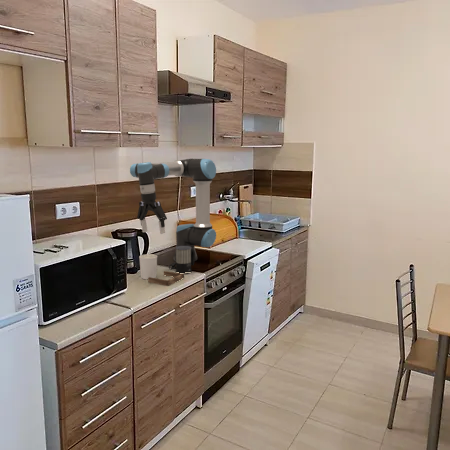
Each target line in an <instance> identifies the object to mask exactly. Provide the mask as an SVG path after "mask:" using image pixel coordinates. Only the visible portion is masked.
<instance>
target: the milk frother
mask: <svg viewBox="0 0 450 450" xmlns="http://www.w3.org/2000/svg"><path fill="white" fill-rule="evenodd" d="M175 251H176V261H174V262H173V263H170V264H169V266H168V268H169V269H170V268H171V269H170V270H172V269H176V270H175V273H176V272H179V273H185V272H191V273H192V267H193V266H194V265H195V261H194V260H195V251H196V250H195V251H194V249H193V248H191V247H190V246H178V247H176V246H175Z"/></svg>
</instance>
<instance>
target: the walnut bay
mask: <svg viewBox="0 0 450 450" xmlns="http://www.w3.org/2000/svg"><path fill="white" fill-rule="evenodd" d="M164 275H166V276H165V277H167V276H173V277H174V278H173V277H171V278H170V279H162V278H157V277H156V278H151V277H149V278H148V281H147V283H150V284H155V285H161V286H166V287H169V286H171V285H174V284H175V282H176V283H178V282H180V281H181V279H182V278H184V279H185V274H180V273H176V272H173V271H167V270H164V271H163V276H164ZM179 280H180V281H179ZM182 280H183V279H182ZM177 281H178V282H177Z"/></svg>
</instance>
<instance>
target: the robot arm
mask: <svg viewBox="0 0 450 450" xmlns="http://www.w3.org/2000/svg"><path fill="white" fill-rule="evenodd" d="M129 173H130V175H131V177H133V178H138V183H139V188H140V193H141V194H140V198H141V201H139V202H138V210H137V211H138V212H137V217H136V219H137V220H139V221H140V225H141V229H142V231H141V232H142V233H146V232H147V233H148V226H147V219H146V217H147V214H148V212H153V213H154V216H156V218H157V219H158V220H159V221H158V225H159V227H158V228H159V233H160V235H163V234H165V233H166V231H165V230H166V229H165V225H166V224H165V221H166V220H167V219H168V218H167V215H166V213H165V211H164V209H163V207H162V204H161V201H157V202H156V200H157V192H156V186H155V180H159V179H164V178H166V177H168V176H175V177H185V178H192V182H193V183H194V184H195V223H185V224H178V225H177V226H176V229H175V240H176V243H175V244H176V246H175V248H176V247H178V246H190V247H191V248H193V249H194V251H195V260H194V262H197V260H198V255H197V252H196V248H195V246H197V247H202V248H210V247H212V246H213V245H214V243H215V242H216V239H217V232H216V229H214V228H213V224H212V223H211V218H210V217H211V216H210V215H211V212H210V211H211V207H210V205H211V203H210V202H211V191H210V190H211V189H210V188H211V183H212V182H213V179H214V178H215V177H216V174H217V167H216V164H215V162H214V161H213V160H212V159H209V158H186V159H179V160H174V161H171V162H151V161H147V162H139V163H133V164H131V166H130V168H129ZM173 261H174V262H176V250H175V251H174V255H173Z"/></svg>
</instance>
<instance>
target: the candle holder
mask: <svg viewBox="0 0 450 450" xmlns="http://www.w3.org/2000/svg"><path fill="white" fill-rule="evenodd" d="M138 258H139V267H140V268H139V270H140V278H141V279H143V280H147V279H148V278H149V277H151V278H157V270H158V269H157V267H158V255H156V254H153V253H152V254H151V253H149V254H148V253H147V254H141V255H139V257H138Z"/></svg>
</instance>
